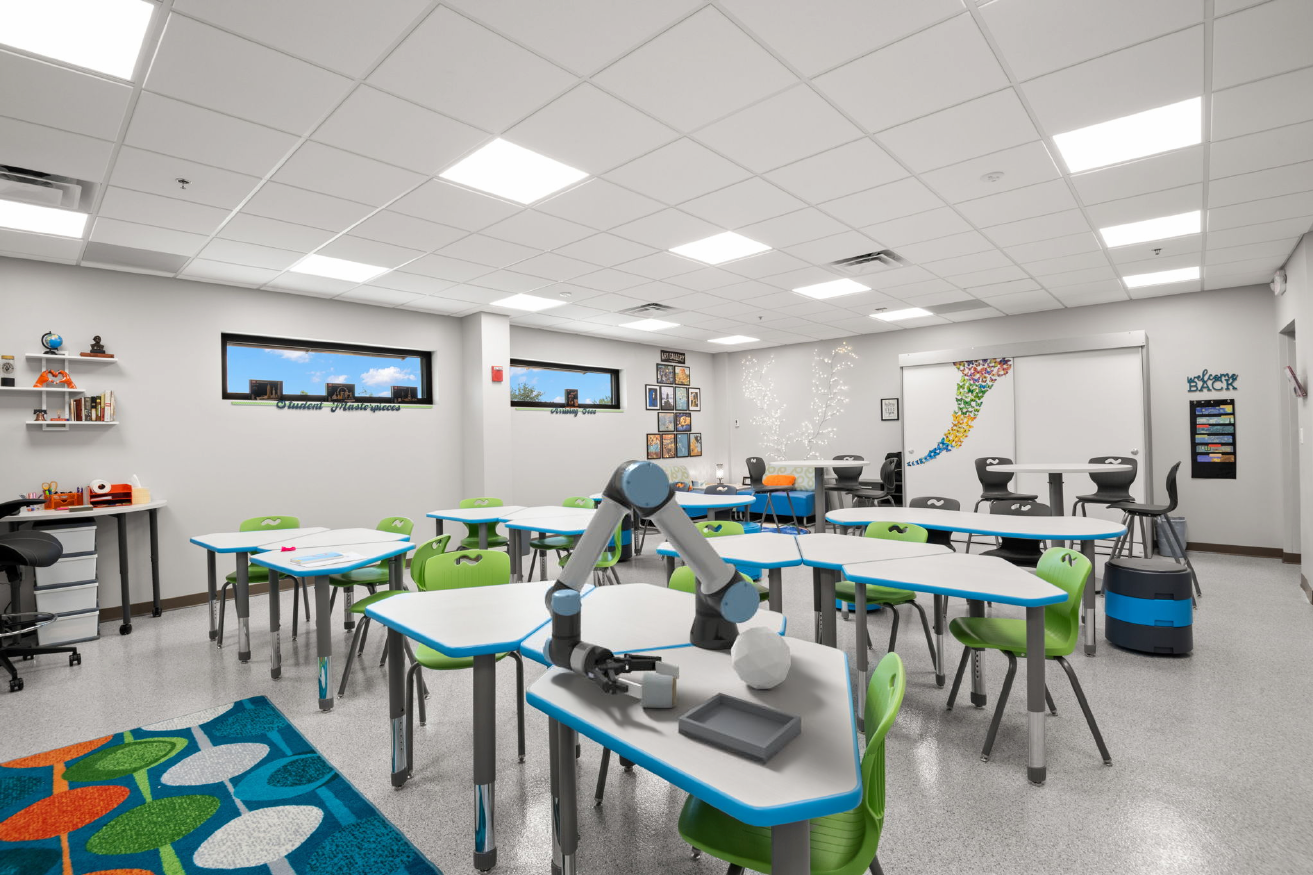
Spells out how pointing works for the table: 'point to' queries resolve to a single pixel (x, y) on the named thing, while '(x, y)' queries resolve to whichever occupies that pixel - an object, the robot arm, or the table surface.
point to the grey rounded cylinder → (658, 691)
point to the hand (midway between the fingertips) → (660, 682)
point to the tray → (740, 726)
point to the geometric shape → (761, 657)
